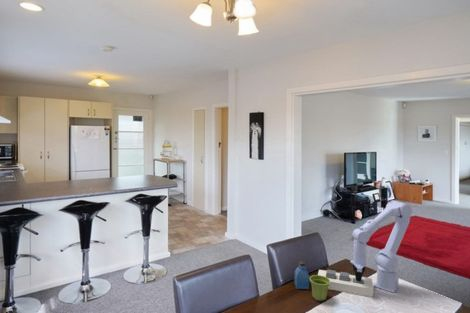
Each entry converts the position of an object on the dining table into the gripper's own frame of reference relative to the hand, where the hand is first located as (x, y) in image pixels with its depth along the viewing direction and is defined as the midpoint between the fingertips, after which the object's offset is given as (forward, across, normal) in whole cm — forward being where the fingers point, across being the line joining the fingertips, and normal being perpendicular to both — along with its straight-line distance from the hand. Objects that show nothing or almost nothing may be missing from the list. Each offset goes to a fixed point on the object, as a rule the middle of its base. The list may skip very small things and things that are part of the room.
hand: (358, 280), depth 151 cm
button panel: (+4, 0, -6) cm, 8 cm away
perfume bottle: (+5, +8, -27) cm, 28 cm away
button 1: (+2, 0, -13) cm, 13 cm away
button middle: (+2, 0, -6) cm, 7 cm away
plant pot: (+5, +16, -17) cm, 24 cm away
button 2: (+4, 0, 0) cm, 4 cm away
